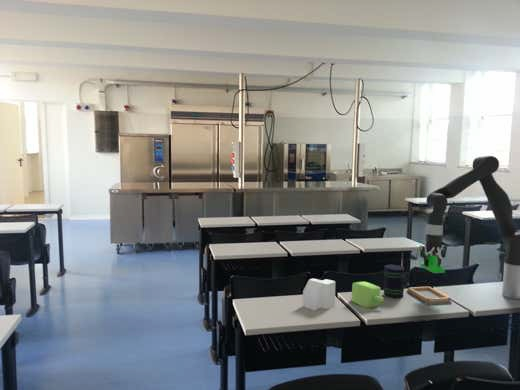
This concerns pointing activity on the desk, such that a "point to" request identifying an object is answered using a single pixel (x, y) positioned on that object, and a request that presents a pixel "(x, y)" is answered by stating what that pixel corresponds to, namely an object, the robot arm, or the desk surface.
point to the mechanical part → (433, 265)
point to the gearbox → (366, 294)
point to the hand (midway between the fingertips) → (432, 265)
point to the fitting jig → (429, 295)
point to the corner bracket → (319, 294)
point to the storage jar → (393, 281)
